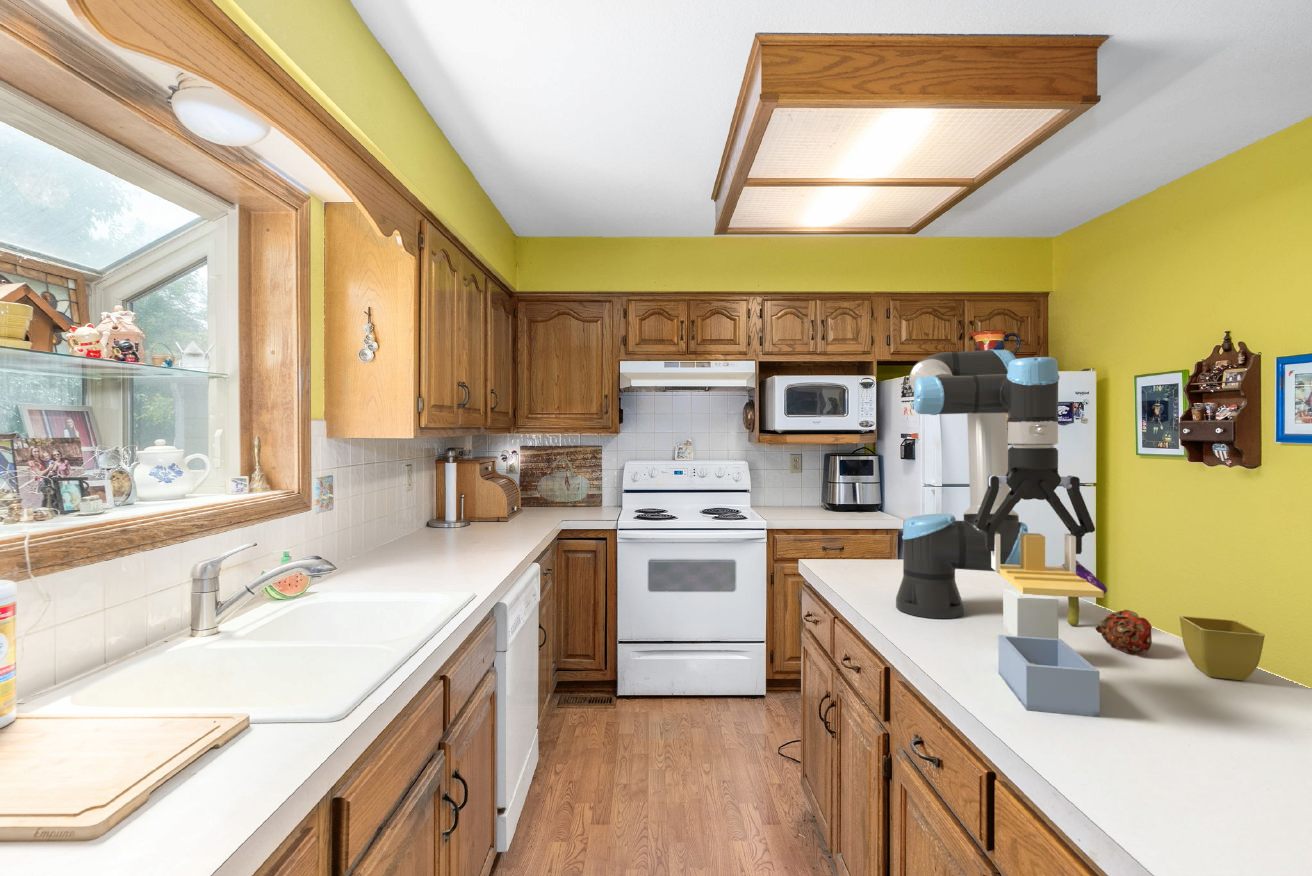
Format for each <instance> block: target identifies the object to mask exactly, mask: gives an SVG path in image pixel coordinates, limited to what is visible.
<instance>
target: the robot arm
mask: <svg viewBox="0 0 1312 876" xmlns="http://www.w3.org/2000/svg"><path fill="white" fill-rule="evenodd" d="M1058 366H1059V365H1058V361H1057V359H1056V358H1054V357H1050V356H1041V357H1040V356H1039V357H1038V356H1037V357H1036V356H1035V357H1022V358H1016V356H1015V354H1014V353H1013V352H1011V351H1010V350H1008V349H992V348H990V349H982V350H968V351H967V350H965V351H964V350H963V351H945V352H938V353H934V354H932V355H929V356H927V357H925V358H923V359H921V360H919V361H917V362H916V363H915V364H914V365H913V367H911V370H910V371H909V376H908V382H909V383H908V384H909V386H910V387H911V390H912V391H913V401H914V402H913V404H914V405H913V406H914V411H915V412H916V413H917V414H920V415H931V416H937V415H961V414H963V415H964V414H966V416H967V417H966V418H967V448H968V449H967V450H968V479H969V482H968V483H969V508H968V509H967V510H965V511H964V512H963V520H957V519H956V517H955V515H954V514H952V513H929V514H921V515H915V516H911V517H908V518H907V519H906V520H904V523H903V530H902V536H901V538H902V540H903V544H902V545H903V549H902V550H903V551H902V552H903V556H902V557H903V567H902V568H903V569H902V570H903V571H902V572H903V573H902V575H903V576H902V580H901V582H900V585H899V587H898V590H897V594H896V597H895V608H896V609H897V610H898V611H901V612H902V613H905V614H908V615H911V616H916V617H921V618H928V619H955V618H958V617H961V616H963V615H964V603H963V600H962V597H961V594H960V592H959V588H958V586H957V583H956V570H967V571H980V572H981V571H983V572H996V571H1000V564H1006V565H1020V533H1029V531H1028V530H1029V529H1028V525H1027V523H1024V522H1022V521H1019V520H1020V519H1019V514H1018V512H1016V511H1015V510H1014V508H1015V506H1016V505H1017V504H1018V503H1019V502H1020V501H1021V500H1025V501H1026V500H1027V501H1028V500H1029V501H1030V500H1034V499H1035V500H1039V501H1046V502H1048V504H1049V505H1050V507H1051V508H1052V509H1053V511H1054V512H1055V513H1056V515H1057V516H1058V518H1059V519H1060V521H1062V523H1063V524H1064V526H1065V527H1066V528H1067V530H1068V531H1069V533H1064V564H1065V569H1067V570H1068V571H1070V572H1072V573H1076V560H1077V557H1076V556H1077V555H1081V554H1082V552H1083V537H1084V536H1085V535H1086V534H1088V533H1094V532H1095V531H1096V527H1095V525H1094V522H1093V520H1092V517H1091V515H1090V512H1089V510H1088V508H1087V505H1086V503H1085V499H1084V498H1083V495H1082V492H1081V490H1080V488H1081V484H1080V483H1081V480H1080V477H1078V476H1074V475H1067V476H1060V474H1059V449H1057V447H1055V445H1057V444H1058V443H1059V435H1058V434H1059V422H1058V421H1059V381H1060V375H1059V368H1058ZM1009 445H1011V447H1009ZM1060 484H1061V485H1062V487H1063V488H1064V489H1066V493H1067V496H1068V497H1069V500H1070V503H1071V504H1072V507H1073V510H1074V513H1075V515H1076V517H1077V520H1078V522H1077V521H1076V520H1075V519H1074V517H1073V516H1072V515H1071V513H1070V512H1069V510H1068V509H1067V508H1066V506H1065V505H1064V503H1063V502H1062V501H1061V499H1060V497H1059V496H1058V494H1057V493H1056V492H1055V490H1056V489H1057V488H1058V486H1060ZM1078 523H1079V524H1078Z"/></svg>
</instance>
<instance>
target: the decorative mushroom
mask: <svg viewBox="0 0 1312 876" xmlns="http://www.w3.org/2000/svg"><path fill="white" fill-rule="evenodd" d="M1059 567H1064V568H1065V563H1063V564H1061V565H1060V566H1059ZM1076 575H1077V576H1079V577H1080V578H1082V579H1086V580H1087V582H1089V583H1090V584H1092V585H1094V586H1095V587H1097V588H1099V589H1101V590H1102V591H1104V594H1106V593H1107V592H1108V588H1107V587H1106V585H1105V584H1104V583H1103V582H1102V581H1100V580H1099V579H1098V578H1097V577H1096V576H1095V575H1094V574H1093V573H1092V572H1091V571H1090V570H1089V569H1088V568H1086V567H1085V566H1083V564H1082V563H1080V561H1078V560H1077V559H1076ZM1079 598H1080V597H1068V596H1067V599H1068V600H1067V602H1068V614H1067V623H1068V624H1069V625H1070V626H1074V627H1075V626H1076V627H1077V626H1078V625H1079V623H1080V622H1079V621H1080V620H1079V619H1080V618H1079V617H1080V616H1079V615H1080V599H1079Z"/></svg>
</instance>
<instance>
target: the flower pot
mask: <svg viewBox="0 0 1312 876" xmlns="http://www.w3.org/2000/svg"><path fill="white" fill-rule="evenodd" d="M1179 623H1180V631H1181V637H1182V643H1183V647H1184V649H1185V652H1186V654H1187V655H1188V658H1189V659H1190V661H1191V662H1192V664H1193V665H1194V667H1195V668H1196V669H1198V670H1199V671H1201V672H1202V673H1204V675H1206V676H1208V677H1210V678H1219V679H1226V680H1227V679H1228V680H1233V681H1234V680H1235V681H1245V680H1247V678H1249V677H1250V676H1251V675H1252V674H1253V673H1254V672H1255V671H1256V669H1257V668H1258V665H1259V664H1260V660H1261V657H1262V651H1263V648H1264V647H1263V646H1264V641H1265V637H1266V635H1265V634H1264V633H1263V632H1260V631H1258V630H1256V629H1254V628H1252V627H1250V626H1248V625H1246V624H1244V623H1242V622H1240V621H1238V620H1235V619H1224V618H1212V617H1199V616H1198V617H1197V616H1189V615H1188V616H1186V615H1179Z"/></svg>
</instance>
